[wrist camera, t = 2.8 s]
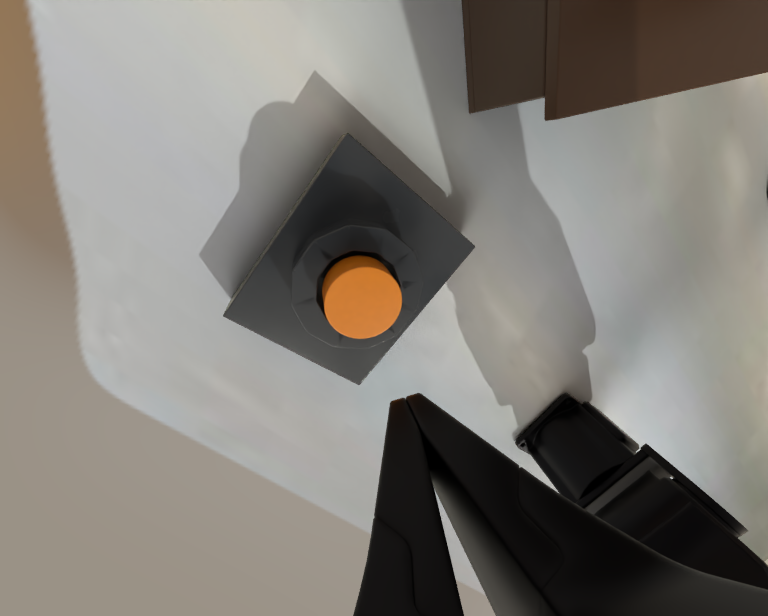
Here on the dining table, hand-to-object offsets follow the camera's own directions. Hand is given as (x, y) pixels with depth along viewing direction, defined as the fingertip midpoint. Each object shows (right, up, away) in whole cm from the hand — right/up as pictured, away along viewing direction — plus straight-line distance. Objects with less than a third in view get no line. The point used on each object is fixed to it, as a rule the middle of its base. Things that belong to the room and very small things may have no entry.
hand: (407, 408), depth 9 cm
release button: (-2, +4, +8) cm, 9 cm away
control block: (-3, +5, +11) cm, 12 cm away
